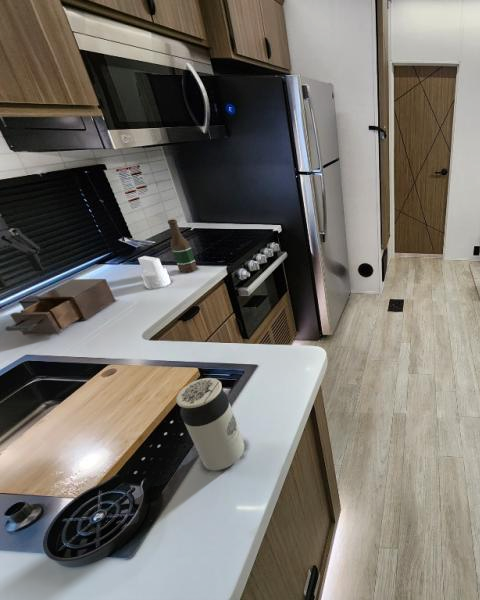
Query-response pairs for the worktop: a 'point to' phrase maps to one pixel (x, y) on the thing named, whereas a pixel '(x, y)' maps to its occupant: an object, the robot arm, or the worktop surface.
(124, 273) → the worktop surface
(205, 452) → the travel mug
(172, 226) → the beer bottle
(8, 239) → the robot arm
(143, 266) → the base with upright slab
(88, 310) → the cabinet
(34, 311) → the drawer
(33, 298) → the dark grey rectangular block
